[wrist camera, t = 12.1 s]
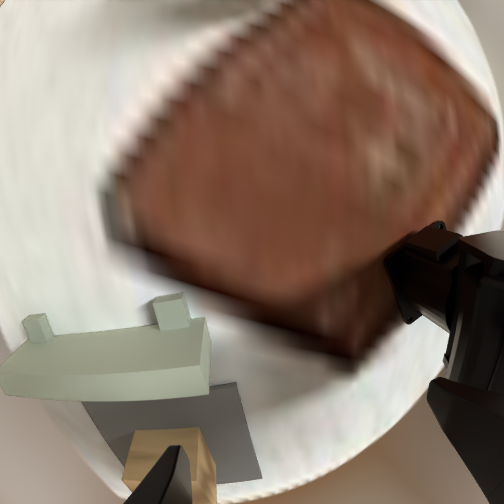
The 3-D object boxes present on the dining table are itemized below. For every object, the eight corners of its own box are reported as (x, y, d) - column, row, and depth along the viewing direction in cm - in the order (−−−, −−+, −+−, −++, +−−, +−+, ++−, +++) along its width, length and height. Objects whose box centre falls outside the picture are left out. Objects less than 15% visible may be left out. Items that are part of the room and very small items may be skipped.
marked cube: (216, 465, 22) (217, 514, 16) (158, 467, 22) (151, 513, 16) (199, 427, 21) (196, 482, 15) (135, 430, 21) (121, 480, 15)
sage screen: (217, 364, 20) (217, 419, 15) (48, 376, 19) (18, 415, 14) (198, 289, 19) (189, 330, 13) (21, 316, 18) (-19, 347, 12)
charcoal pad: (261, 475, 24) (262, 478, 24) (139, 482, 23) (138, 485, 23) (235, 382, 21) (236, 386, 20) (81, 394, 20) (79, 397, 20)
